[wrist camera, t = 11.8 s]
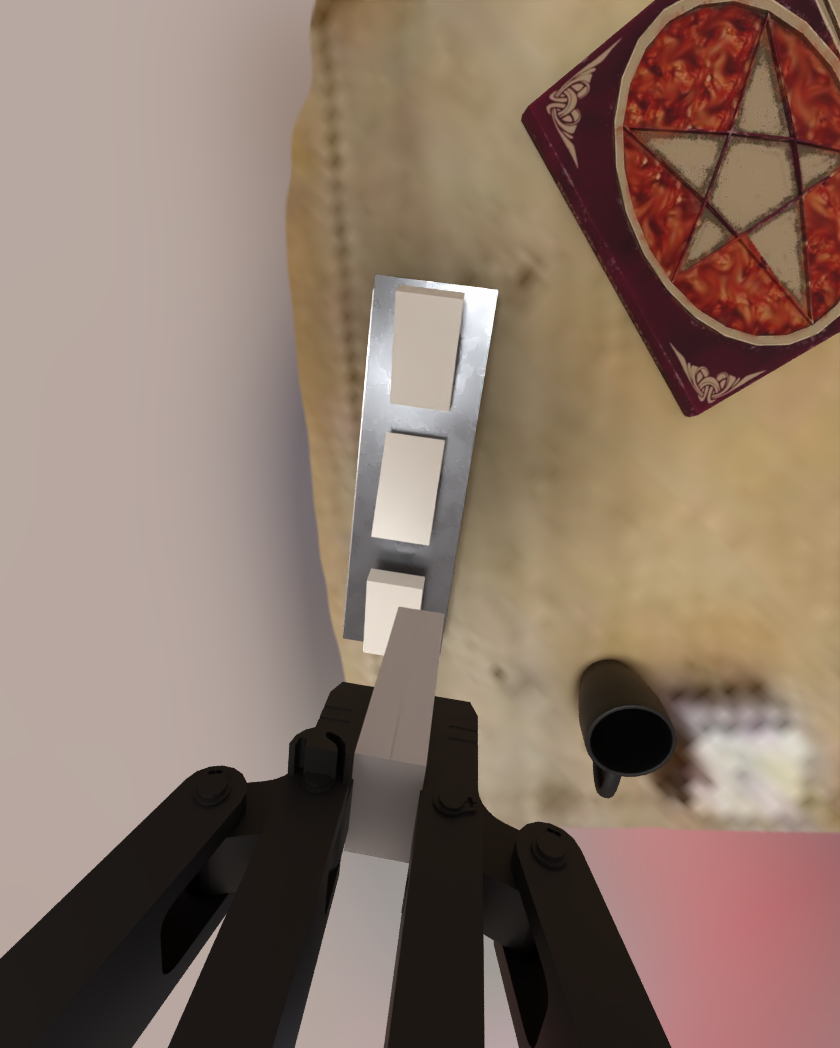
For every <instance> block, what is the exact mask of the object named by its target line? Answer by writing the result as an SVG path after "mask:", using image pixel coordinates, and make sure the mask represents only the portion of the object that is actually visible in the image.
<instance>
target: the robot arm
mask: <svg viewBox="0 0 840 1048" xmlns="http://www.w3.org/2000/svg"><path fill="white" fill-rule="evenodd" d="M443 622H444V614H442V613H436V612H430V611H424V610H418V609H412V608H405V607H398V610H397V614H396V617H395V620H394V624H393V627H392V630H391V634H390V637H389V640H388V644H387V647H386V650H385V654H384V657H383V660H382V663H381V667H380V670H379V673H378V677H377V680H376V683H375V687H370V686H364V685H358V684H353V683H347V682H342V683H341V684H339V685H338V686H337V687H336V688H335V689H333V690H332V691H331V692H330V694H329V696H328V699H327V701H326V704H325V707H324V708H323V710H322V713H321V715H320V719H319V720H318V722H317V725H316V727H314V728H310V729H306V730H304V731H302V732H301V733H299V734H297V735H296V736H295V737H294V738H293V740H292V741H291V742H290V744H289V761H288V774H286V775H285V776H282V777H280V778H277V779H274V780H269V781H262V782H251V783H247V782H246V780H245V778H244V776H243V774H242V773H240V772H239V771H237V770H236V769H235V768H231V767H227V766H213V767H208V768H205V769H202V770H200V771H197V772H195V773H194V774H193V775H191V776H190V777H188V778H187V779H186V780H185V781H184V782H183V783H182V784H181V785H180V786H179V787H177V788H176V789H175V790H174V791H173V792H172V793H171V794H170V795H169V796H168V797H167V798H166V799H165V800H164V801H163V802H162V803H161V804H160V805H159V806H158V807H157V808H156V809H155V810H154V811H153V812H152V813H151V814H150V815H149V816H148V817H147V818H145V819H144V820H143V821H142V822H141V823H140V824H139V825H138V826H137V827H136V828H135V829H134V830H133V831H132V832H131V833H130V834H129V835H128V836H127V837H126V838H125V839H124V840H123V841H122V842H121V843H120V844H119V845H117V846H116V847H115V848H114V849H113V850H112V851H111V852H110V853H109V854H108V855H107V856H106V857H105V858H104V859H103V860H102V861H101V862H100V863H99V864H98V865H97V866H96V867H95V868H94V869H93V870H92V871H91V872H90V873H89V874H87V876H85V877H84V878H83V879H82V880H81V881H80V882H79V883H78V884H77V885H76V886H75V887H74V888H73V889H72V890H71V891H70V892H69V893H68V894H67V895H66V896H65V897H64V898H63V899H62V900H61V901H60V902H59V903H57V904H56V905H55V906H54V907H53V908H52V909H51V910H50V911H49V912H48V913H47V914H46V915H45V916H44V917H43V918H42V919H41V920H40V921H39V922H38V923H37V924H36V925H35V926H34V927H33V928H32V929H31V930H30V931H29V932H28V933H26V934H25V935H24V936H23V937H22V938H21V939H20V940H19V941H18V942H17V943H16V944H15V945H14V946H13V947H12V948H11V949H10V950H9V951H8V952H7V953H6V954H5V955H4V956H3V957H2V958H1V959H0V1048H132V1047H133V1045H134V1044H135V1043H136V1041H137V1039H138V1038H139V1037H140V1035H141V1034H142V1033H143V1031H144V1030H145V1028H146V1027H147V1026H148V1024H149V1023H150V1021H151V1020H152V1018H153V1017H154V1016H155V1014H156V1013H157V1011H158V1010H159V1009H160V1007H161V1005H162V1004H163V1003H164V1001H165V1000H166V999H167V997H168V996H169V994H170V993H171V991H172V990H173V989H174V987H175V986H176V984H177V983H178V982H179V980H180V979H181V977H182V976H183V975H184V973H185V972H186V970H187V969H188V967H189V966H190V965H191V963H192V962H193V960H194V959H195V957H196V956H197V955H198V953H199V952H200V950H201V949H202V947H203V946H204V945H205V943H206V942H207V941H208V939H209V938H210V936H211V935H212V933H213V932H214V931H215V929H216V928H217V926H218V925H219V924H220V922H221V921H222V919H223V918H224V916H225V915H226V917H225V919H224V921H223V923H222V925H221V928H220V930H219V932H218V935H217V937H216V939H215V941H214V944H213V946H212V948H211V951H210V953H209V955H208V957H207V960H206V962H205V964H204V967H203V969H202V971H201V973H200V976H199V978H198V980H197V982H196V985H195V987H194V989H193V991H192V994H191V996H190V998H189V1001H188V1003H187V1005H186V1007H185V1010H184V1012H183V1014H182V1017H181V1019H180V1021H179V1023H178V1026H177V1028H176V1030H175V1032H174V1035H173V1037H172V1039H171V1042H170V1044H169V1046H168V1048H295V1044H296V1040H297V1036H298V1032H299V1029H300V1025H301V1021H302V1017H303V1013H304V1009H305V1005H306V1001H307V998H308V994H309V990H310V986H311V982H312V978H313V974H314V970H315V966H316V963H317V959H318V955H319V951H320V947H321V943H322V939H323V935H324V932H325V928H326V924H327V920H328V916H329V912H330V908H331V904H332V900H333V897H334V893H335V889H336V885H337V881H338V877H339V870H340V861H341V855H342V852H343V848H344V851H348V852H353V853H358V854H364V855H369V856H374V857H379V858H385V859H390V860H395V861H401V862H407V863H409V869H408V874H407V881H406V887H405V893H404V899H403V906H402V912H401V913H402V916H401V924H400V932H399V939H398V946H397V954H396V961H395V969H394V976H393V983H392V992H391V998H390V1006H389V1014H388V1020H387V1028H386V1036H385V1043H384V1048H484V945H483V934H484V935H486V936H488V937H489V938H491V939H493V940H494V947H495V951H496V956H497V959H498V964H499V968H500V972H501V976H502V980H503V984H504V988H505V992H506V996H507V1001H508V1005H509V1009H510V1013H511V1017H512V1020H513V1025H514V1029H515V1033H516V1037H517V1041H518V1046H519V1048H671V1046H670V1044H669V1041H668V1039H667V1037H666V1035H665V1033H664V1030H663V1028H662V1026H661V1024H660V1021H659V1019H658V1017H657V1015H656V1013H655V1011H654V1009H653V1006H652V1004H651V1002H650V1000H649V998H648V995H647V993H646V991H645V989H644V986H643V984H642V982H641V980H640V978H639V976H638V974H637V971H636V969H635V967H634V965H633V963H632V961H631V958H630V956H629V954H628V951H627V949H626V947H625V945H624V943H623V941H622V938H621V936H620V935H619V932H618V930H617V927H616V925H615V923H614V921H613V919H612V916H611V914H610V912H609V910H608V908H607V906H606V903H605V901H604V899H603V897H602V895H601V892H600V890H599V888H598V886H597V884H596V882H595V879H594V877H593V875H592V873H591V871H590V868H589V866H588V864H587V862H586V860H585V857H584V855H583V853H582V851H581V849H580V848H579V846H578V845H577V843H576V842H575V840H574V839H573V838H572V837H571V836H570V835H569V834H568V833H566V832H565V831H564V830H563V829H561V828H559V827H557V826H554V825H552V824H550V823H543V822H534V823H530V824H527V825H525V826H524V827H523V828H522V829H521V830H517V829H515V828H513V827H511V826H509V825H507V824H505V823H503V822H502V821H500V820H498V819H497V818H495V817H494V816H493V815H492V814H491V813H490V812H488V810H487V809H486V808H485V806H484V805H483V804H482V801H481V799H480V797H479V792H478V716H477V714H476V712H475V710H474V708H473V707H472V705H471V703H470V702H466V701H460V700H454V699H448V698H442V697H436V696H435V689H436V681H437V672H438V664H439V656H440V647H441V639H442V631H443ZM344 844H345V847H344Z"/></svg>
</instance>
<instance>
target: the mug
mask: <svg viewBox="0 0 840 1048" xmlns="http://www.w3.org/2000/svg"><path fill="white" fill-rule="evenodd" d="M579 721H580V727H581V731H582V735H583V739H584V742H585V746H586V749H587V752H588V754H589V756H590V757H591V759H592V761H593V774H594V783H595V787H596V791H597V793H598V794H599V795H600V796H602V797H604V798H611V797H613V796H614V794H615V792H616V790H617V788H618V785H619V782H620V779H621V776H624V777H636V776H641V775H646V774H649V773H651V772H654V771H656V770H657V769H659V768H661V767H662V766H663V765H664V764H665V763H666V762H667V761H669V759H670V758H671V756H672V755H673V753H674V751H675V747H676V740H677V735H676V731H675V727H674V725H673V723H672V722H671V720H670V718H669V716H668V714H667V712H666V710H665V708H664V707H663V705H662V703H661V702H660V700H659V698H658V697H657V696H656V694H655V693H654V692H653V691H652V690H651V688H650V687H649V686H648V685H647V684H646V683H645V682H644V681H643V680H642V679H641V678H640V677H639V676H637V675H636V674H635V673H634V672H632V671H631V670H630V669H629V668H628V667H627V666H626V665H624V664H622V663H621V662H618V661H614V660H603V661H599V662H596V663H594V664H592V665H591V666H590V667H588V668H587V670H586V671H585V672H584V674H583V676H582V680H581V689H580V694H579Z"/></svg>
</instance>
